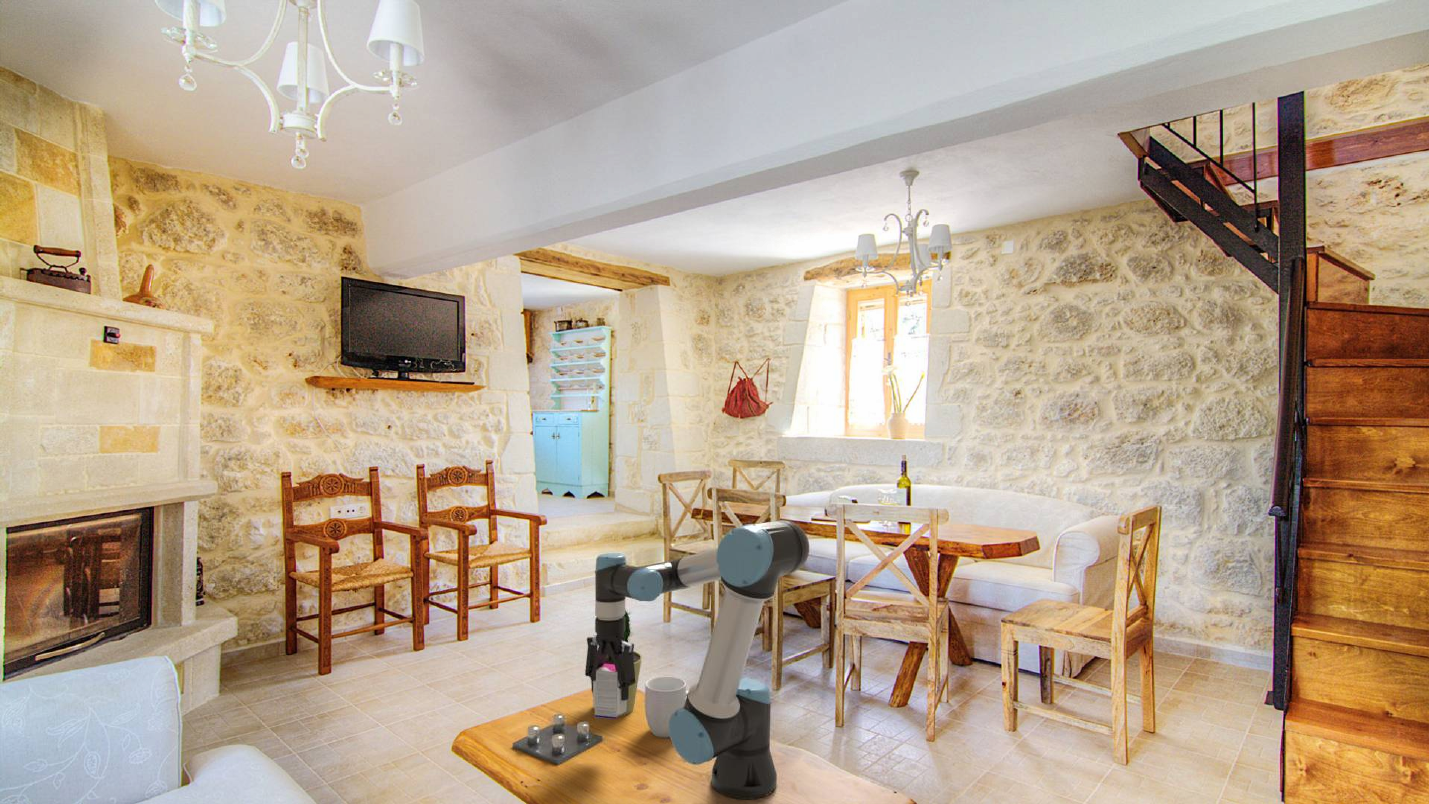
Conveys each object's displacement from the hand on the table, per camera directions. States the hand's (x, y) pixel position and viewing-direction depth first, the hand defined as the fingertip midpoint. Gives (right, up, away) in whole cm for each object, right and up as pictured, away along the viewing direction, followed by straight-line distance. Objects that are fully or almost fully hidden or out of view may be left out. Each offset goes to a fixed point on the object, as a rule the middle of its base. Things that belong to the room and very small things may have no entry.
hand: (609, 709), depth 175 cm
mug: (+14, -12, +13) cm, 23 cm away
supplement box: (0, -1, 0) cm, 1 cm away
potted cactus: (-3, -12, +28) cm, 30 cm away
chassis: (-14, -11, +5) cm, 19 cm away
